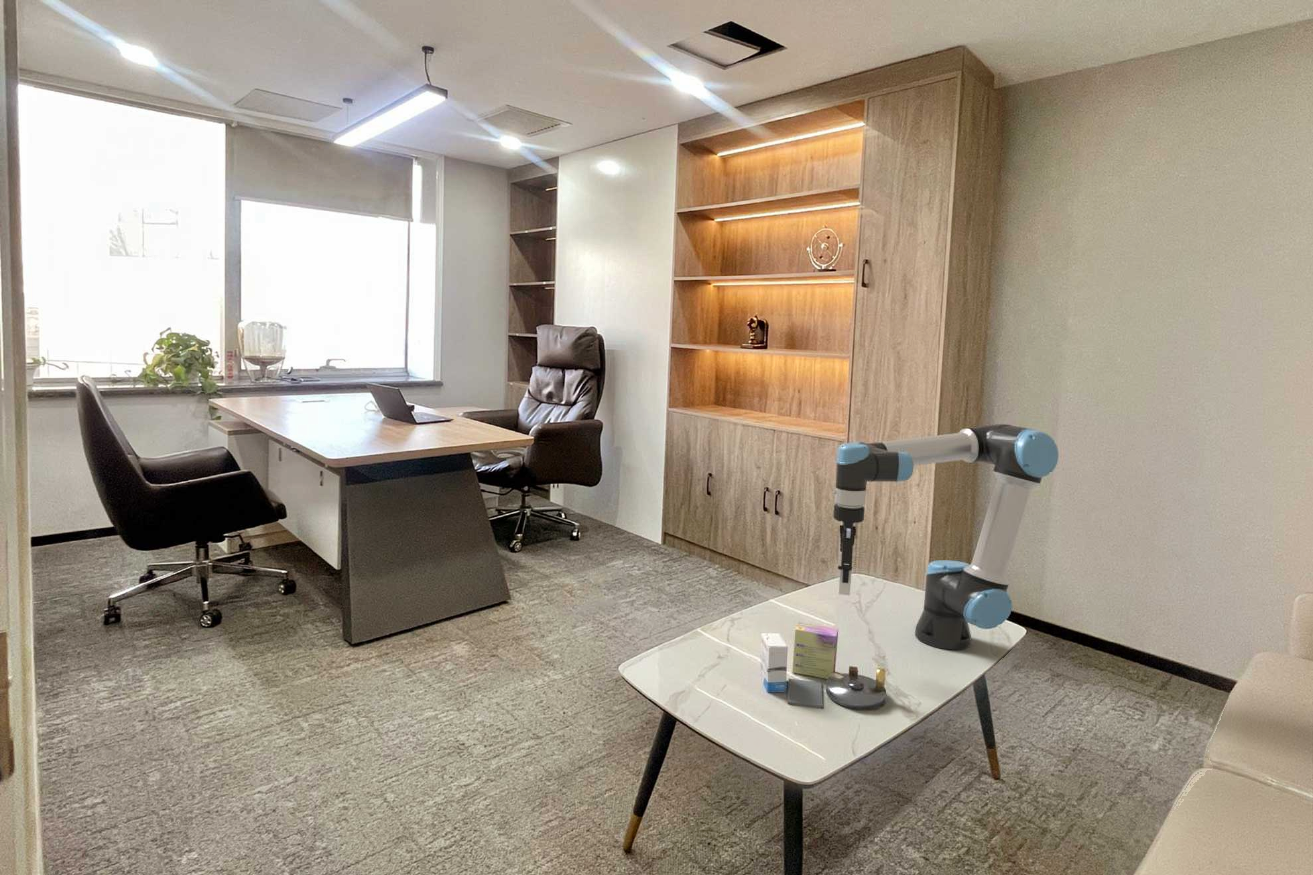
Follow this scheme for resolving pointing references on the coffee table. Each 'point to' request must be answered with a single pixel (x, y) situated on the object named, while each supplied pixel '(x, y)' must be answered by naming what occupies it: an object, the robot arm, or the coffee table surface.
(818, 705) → the mat
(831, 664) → the box
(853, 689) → the dark pot lid
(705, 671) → the coffee table surface
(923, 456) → the robot arm
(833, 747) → the coffee table surface
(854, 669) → the brown short block
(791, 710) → the coffee table surface
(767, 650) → the ink box
